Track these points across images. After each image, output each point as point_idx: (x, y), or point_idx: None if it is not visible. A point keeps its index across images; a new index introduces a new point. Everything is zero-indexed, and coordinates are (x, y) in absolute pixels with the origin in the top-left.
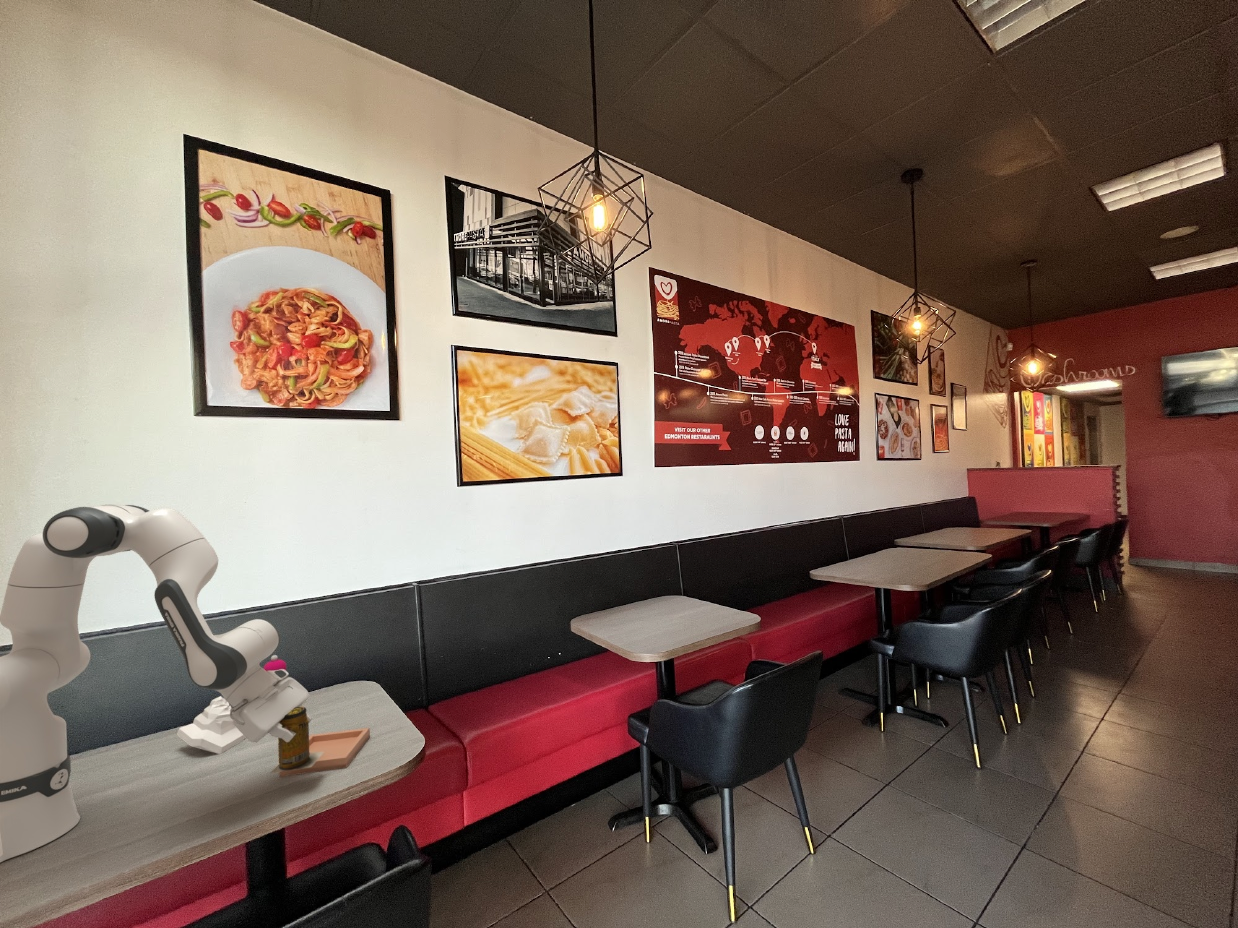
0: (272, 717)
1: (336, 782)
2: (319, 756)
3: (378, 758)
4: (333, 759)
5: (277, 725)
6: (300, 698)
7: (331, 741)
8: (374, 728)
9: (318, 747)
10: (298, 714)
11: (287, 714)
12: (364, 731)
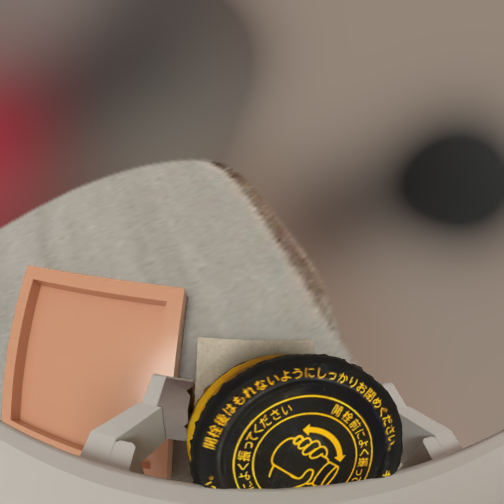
0: (495, 474)
1: (262, 301)
2: (235, 341)
3: (170, 227)
4: (179, 325)
5: (453, 447)
6: (41, 470)
7: (32, 370)
8: (6, 274)
9: (51, 402)
10: (370, 378)
11: (372, 468)
12: (40, 274)
